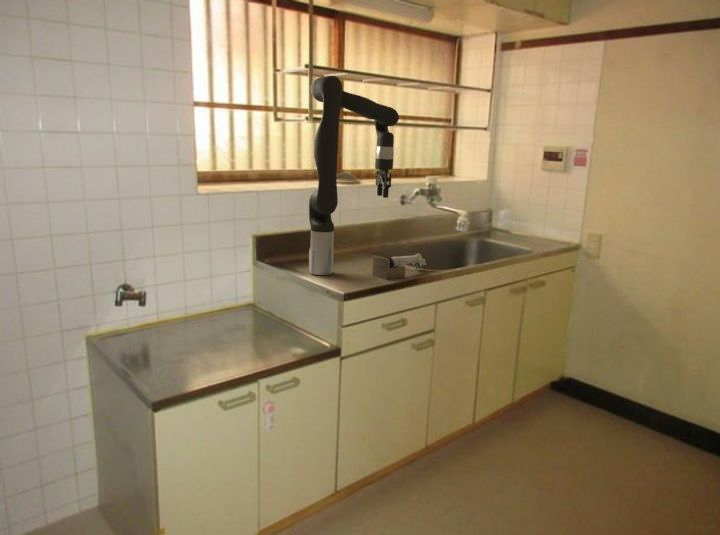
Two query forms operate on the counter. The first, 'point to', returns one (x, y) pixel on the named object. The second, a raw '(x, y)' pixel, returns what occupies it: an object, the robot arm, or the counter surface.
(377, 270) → the cup bracket
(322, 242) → the robot arm
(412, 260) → the grey piece
